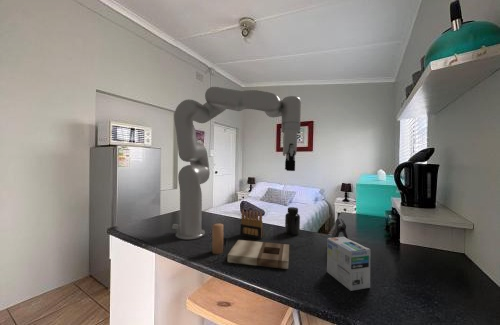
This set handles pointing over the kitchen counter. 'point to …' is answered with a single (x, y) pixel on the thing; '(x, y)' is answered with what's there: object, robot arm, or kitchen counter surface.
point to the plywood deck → (260, 254)
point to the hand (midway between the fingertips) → (289, 170)
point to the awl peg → (217, 238)
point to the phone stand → (339, 229)
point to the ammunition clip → (251, 225)
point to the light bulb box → (348, 263)
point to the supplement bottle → (292, 222)
